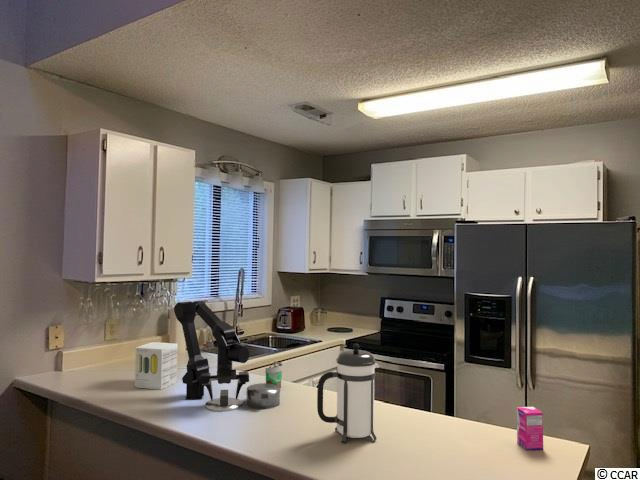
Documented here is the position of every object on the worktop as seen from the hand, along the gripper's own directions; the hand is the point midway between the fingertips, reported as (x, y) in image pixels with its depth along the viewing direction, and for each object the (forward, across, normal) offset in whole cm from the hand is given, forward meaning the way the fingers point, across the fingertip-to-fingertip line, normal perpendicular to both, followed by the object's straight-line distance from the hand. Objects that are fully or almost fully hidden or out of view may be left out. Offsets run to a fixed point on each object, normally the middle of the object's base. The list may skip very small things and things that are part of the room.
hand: (224, 400), depth 183 cm
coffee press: (+2, +41, -38) cm, 56 cm away
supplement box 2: (+2, +94, -54) cm, 108 cm away
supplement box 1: (+2, -30, +33) cm, 45 cm away
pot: (+2, +15, 0) cm, 15 cm away
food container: (+2, +22, +20) cm, 30 cm away
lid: (+2, 0, 0) cm, 2 cm away
